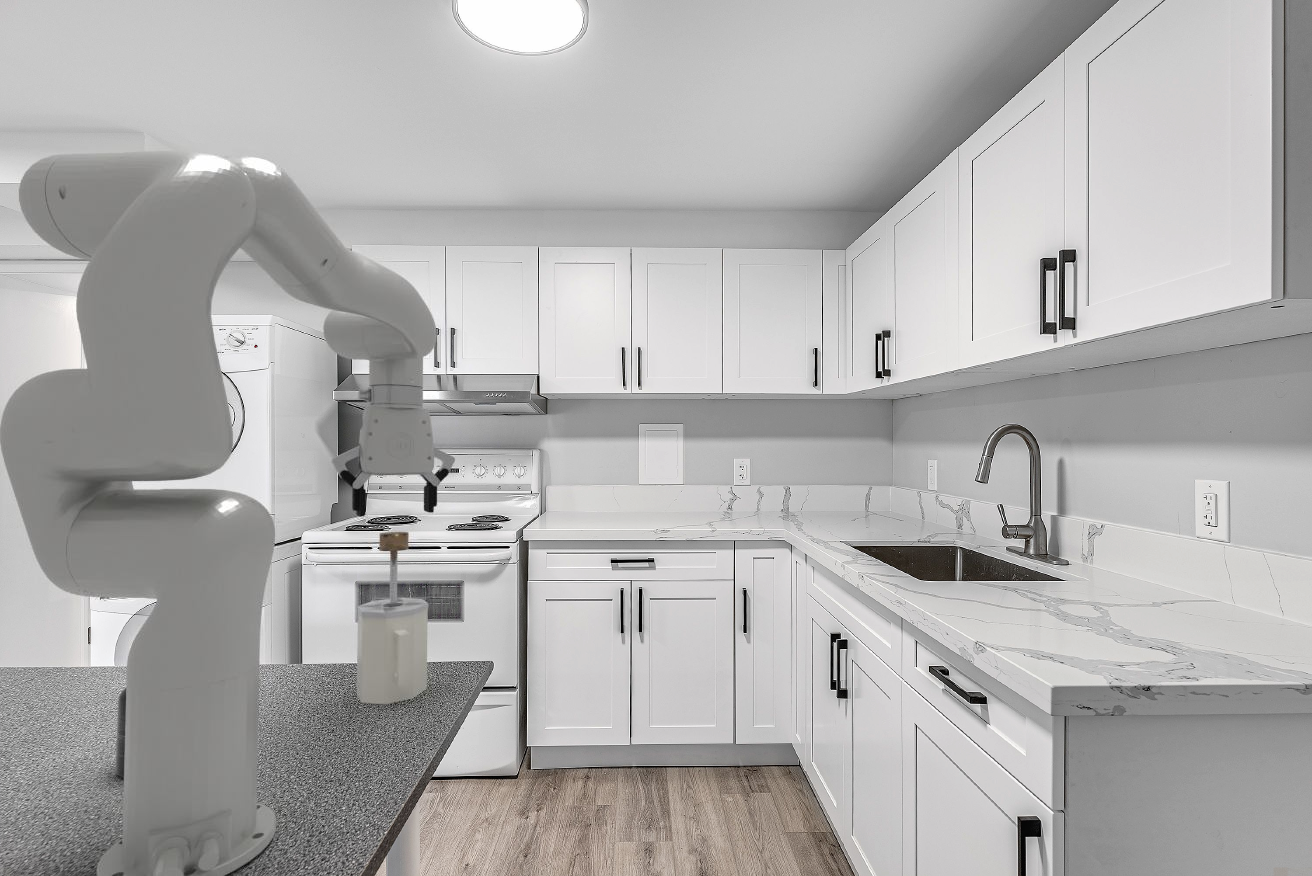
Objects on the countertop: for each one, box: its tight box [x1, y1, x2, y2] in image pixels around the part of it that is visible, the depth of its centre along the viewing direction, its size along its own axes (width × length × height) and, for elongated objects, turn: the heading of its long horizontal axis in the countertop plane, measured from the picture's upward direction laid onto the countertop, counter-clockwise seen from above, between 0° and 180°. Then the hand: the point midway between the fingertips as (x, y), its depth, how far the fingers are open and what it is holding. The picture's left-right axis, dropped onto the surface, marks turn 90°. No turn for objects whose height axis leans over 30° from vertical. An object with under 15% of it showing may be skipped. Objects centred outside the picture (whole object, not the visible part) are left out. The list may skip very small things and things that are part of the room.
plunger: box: [378, 531, 410, 607], centre depth 95 cm, size 4×4×17 cm
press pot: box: [356, 597, 429, 705], centre depth 93 cm, size 12×9×13 cm
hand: (395, 513), depth 96 cm, fingers open, 9 cm apart
